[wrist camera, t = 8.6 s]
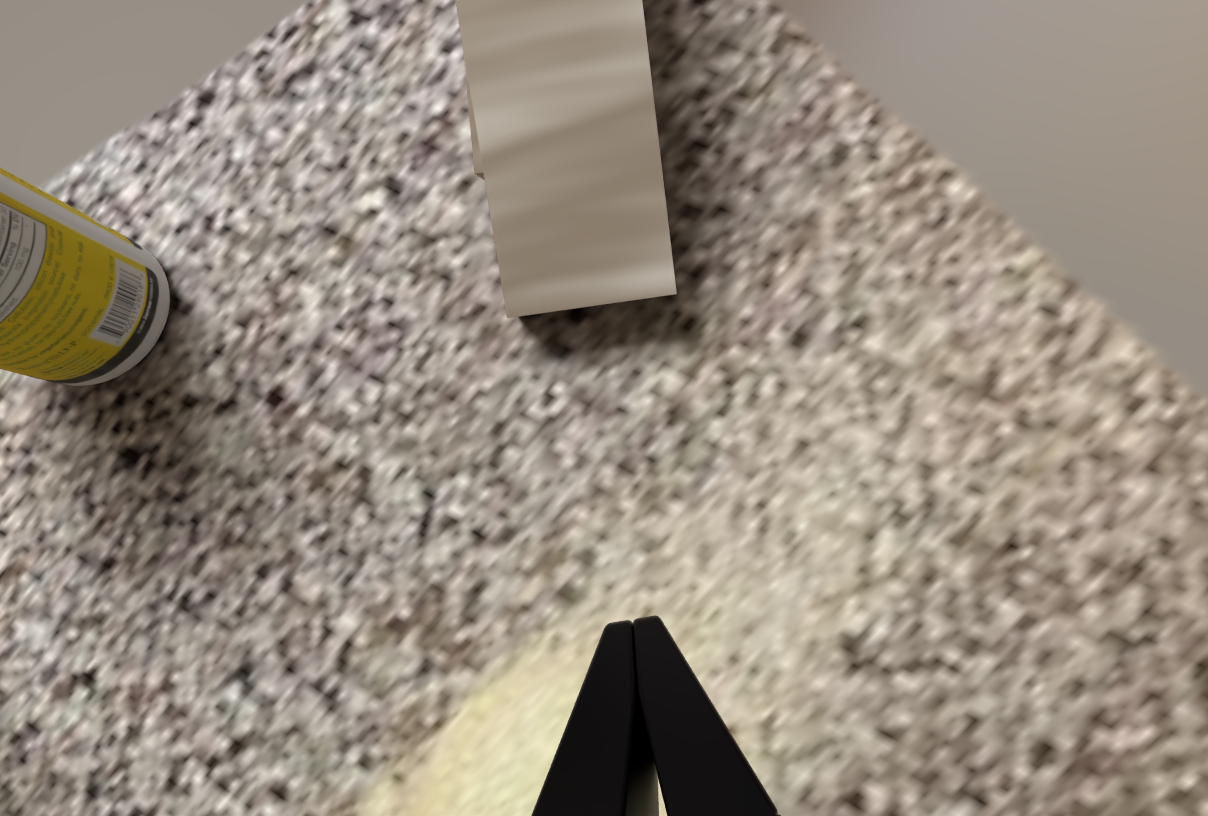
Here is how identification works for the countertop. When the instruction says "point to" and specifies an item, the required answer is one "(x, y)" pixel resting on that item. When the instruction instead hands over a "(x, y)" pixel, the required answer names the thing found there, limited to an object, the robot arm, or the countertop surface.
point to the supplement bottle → (72, 291)
